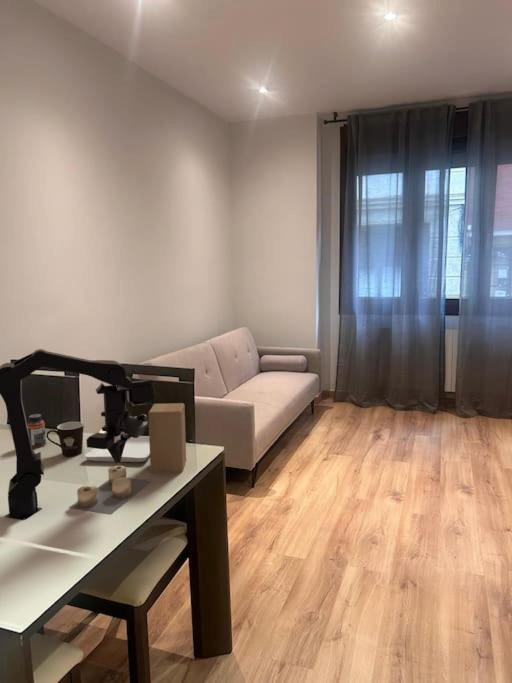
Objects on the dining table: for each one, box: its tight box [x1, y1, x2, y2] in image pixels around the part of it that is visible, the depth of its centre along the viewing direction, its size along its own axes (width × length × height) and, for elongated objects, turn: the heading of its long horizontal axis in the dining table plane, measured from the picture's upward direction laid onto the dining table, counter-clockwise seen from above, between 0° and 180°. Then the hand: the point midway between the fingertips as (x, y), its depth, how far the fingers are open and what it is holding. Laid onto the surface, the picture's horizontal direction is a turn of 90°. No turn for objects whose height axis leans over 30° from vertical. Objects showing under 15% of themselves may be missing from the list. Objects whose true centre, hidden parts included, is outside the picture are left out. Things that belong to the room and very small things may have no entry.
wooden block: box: [147, 402, 187, 474], centre depth 154 cm, size 10×10×20 cm
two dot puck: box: [107, 465, 127, 485], centre depth 143 cm, size 5×5×4 cm
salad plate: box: [84, 435, 150, 463], centre depth 167 cm, size 21×21×3 cm
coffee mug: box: [45, 421, 85, 458], centre depth 168 cm, size 12×9×10 cm
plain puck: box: [112, 477, 131, 499], centre depth 135 cm, size 5×5×4 cm
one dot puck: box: [76, 484, 98, 508], centre depth 130 cm, size 5×5×4 cm
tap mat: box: [68, 477, 153, 516], centre depth 136 cm, size 21×13×1 cm, turn 162°
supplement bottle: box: [27, 413, 47, 449], centre depth 176 cm, size 6×6×11 cm
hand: (117, 462), depth 134 cm, fingers closed
